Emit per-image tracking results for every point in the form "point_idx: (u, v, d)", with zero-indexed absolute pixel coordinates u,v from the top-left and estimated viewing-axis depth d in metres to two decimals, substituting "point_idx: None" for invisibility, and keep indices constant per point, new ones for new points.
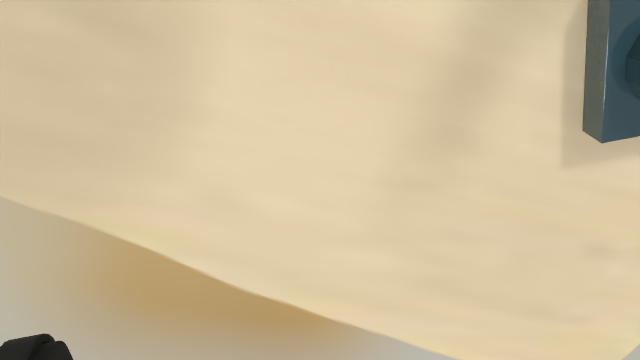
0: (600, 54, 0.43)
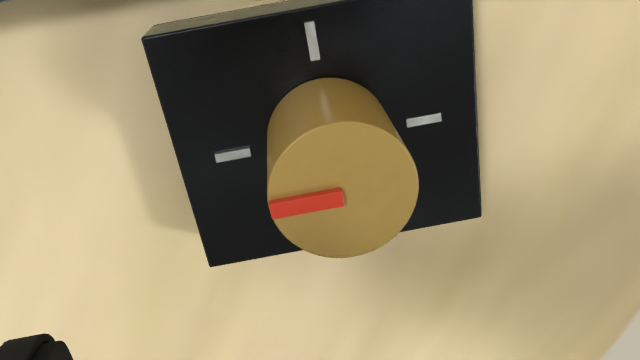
0: None
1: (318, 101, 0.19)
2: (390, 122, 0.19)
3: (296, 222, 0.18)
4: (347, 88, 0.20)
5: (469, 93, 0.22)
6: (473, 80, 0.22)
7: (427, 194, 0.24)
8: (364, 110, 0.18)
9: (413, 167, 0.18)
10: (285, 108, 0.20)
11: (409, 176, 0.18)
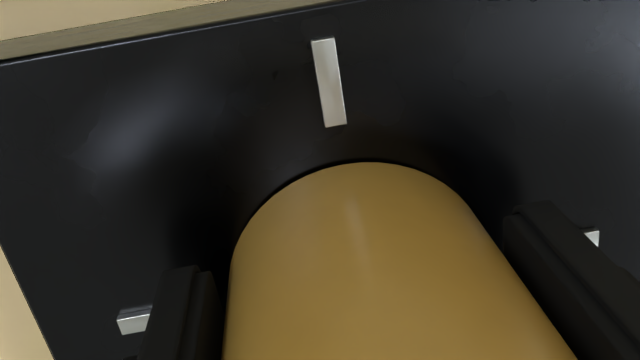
0: None
1: (351, 251, 0.07)
2: (533, 298, 0.07)
3: None
4: (414, 198, 0.08)
5: None
6: None
7: None
8: (484, 291, 0.06)
9: None
10: (264, 245, 0.08)
11: None
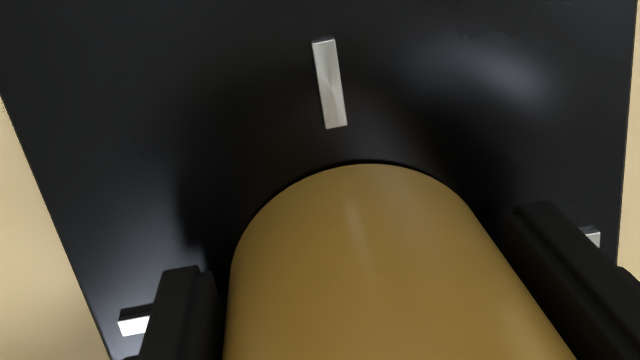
0: None
1: (350, 253, 0.07)
2: (533, 299, 0.07)
3: None
4: (414, 200, 0.08)
5: None
6: None
7: None
8: (484, 293, 0.06)
9: None
10: (264, 246, 0.08)
11: None
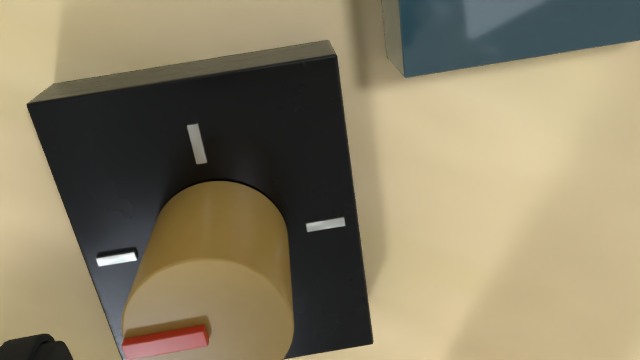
0: None
1: (190, 220, 0.17)
2: (272, 241, 0.17)
3: None
4: (230, 198, 0.18)
5: None
6: None
7: None
8: (235, 235, 0.16)
9: (285, 303, 0.16)
10: (162, 219, 0.18)
11: (281, 312, 0.16)
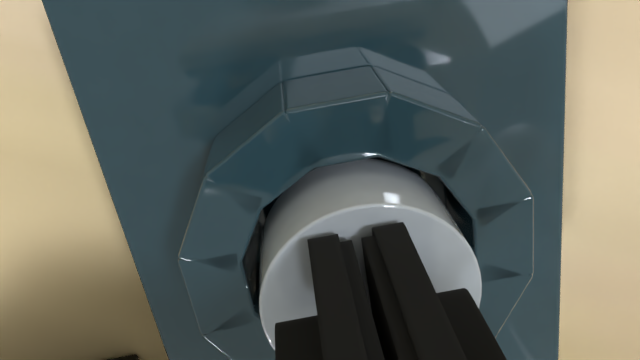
0: None
1: None
2: None
3: None
4: None
5: None
6: None
7: None
8: None
9: None
10: None
11: None
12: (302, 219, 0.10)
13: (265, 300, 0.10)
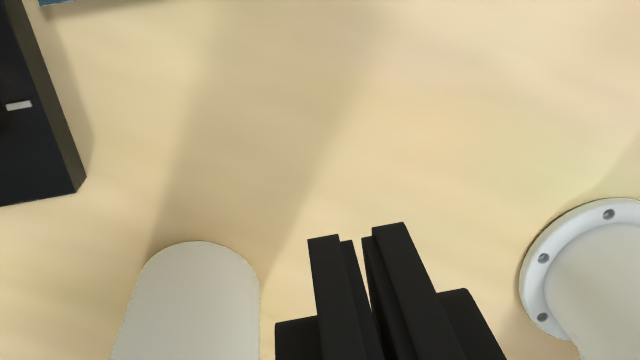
0: None
1: None
2: None
3: None
4: None
5: (5, 201, 0.35)
6: (14, 203, 0.35)
7: None
8: None
9: None
10: None
11: None
12: None
13: None
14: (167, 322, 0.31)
